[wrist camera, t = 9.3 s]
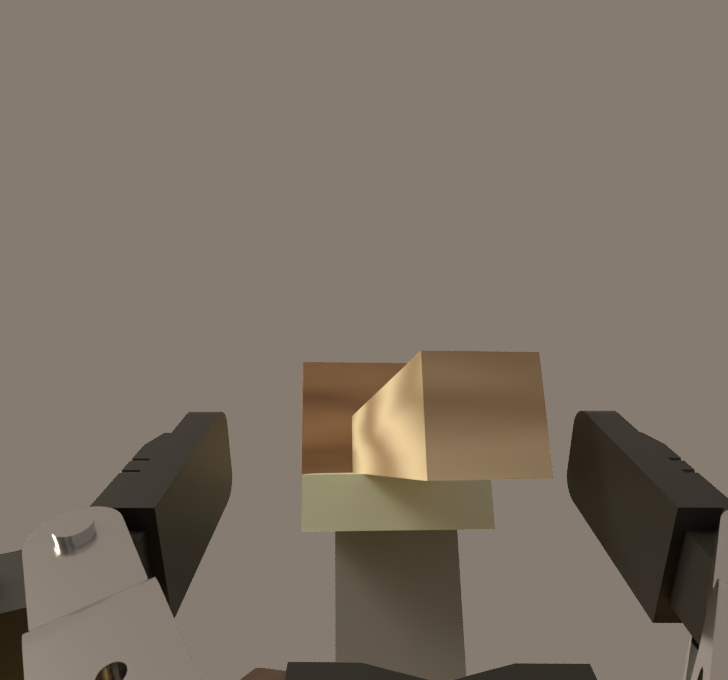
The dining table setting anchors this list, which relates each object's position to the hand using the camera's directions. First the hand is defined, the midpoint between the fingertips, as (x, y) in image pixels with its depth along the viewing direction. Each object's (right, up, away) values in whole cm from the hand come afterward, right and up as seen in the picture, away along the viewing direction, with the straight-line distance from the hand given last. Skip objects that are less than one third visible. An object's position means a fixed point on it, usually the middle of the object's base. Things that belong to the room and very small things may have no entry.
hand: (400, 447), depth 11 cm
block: (0, -3, +8) cm, 9 cm away
